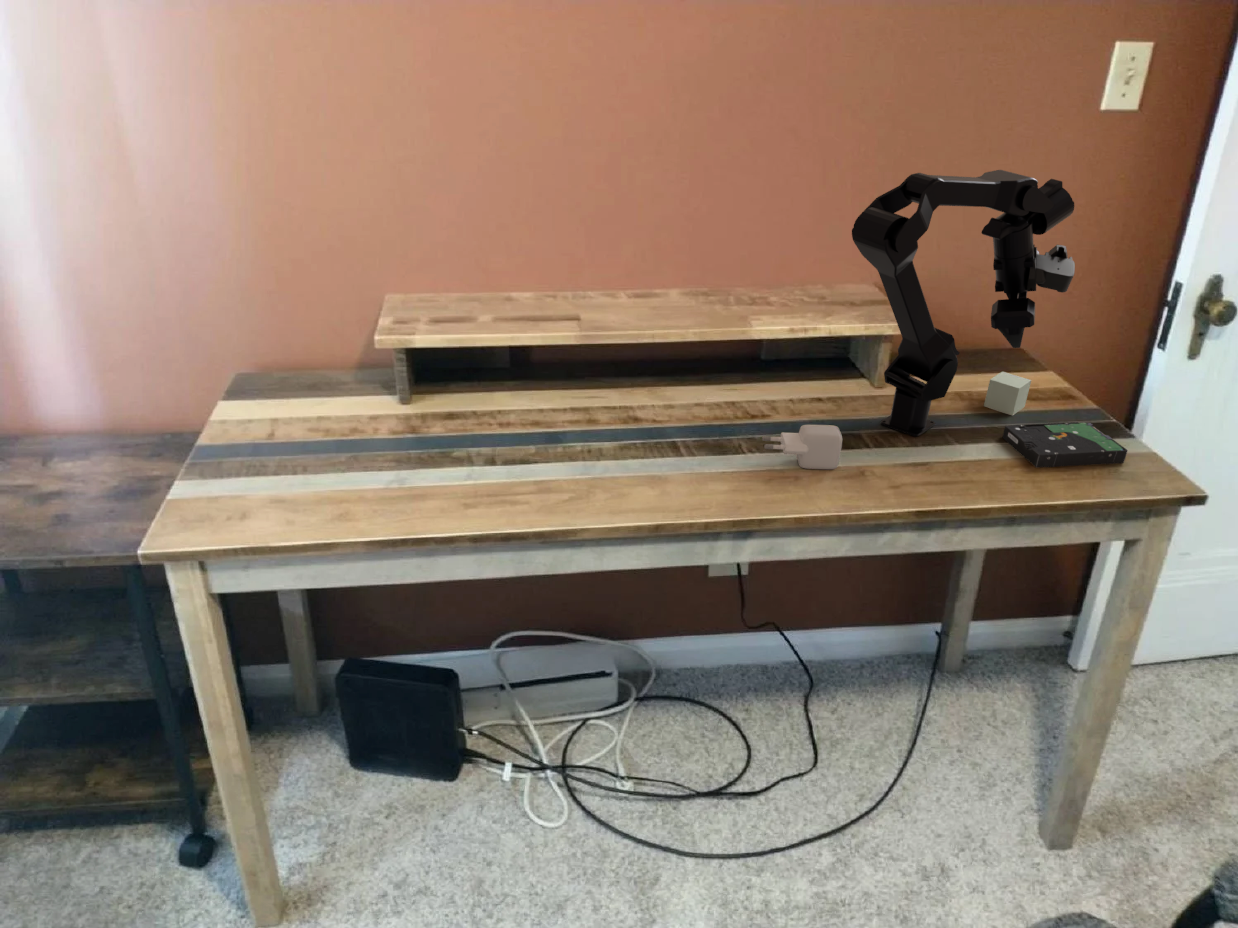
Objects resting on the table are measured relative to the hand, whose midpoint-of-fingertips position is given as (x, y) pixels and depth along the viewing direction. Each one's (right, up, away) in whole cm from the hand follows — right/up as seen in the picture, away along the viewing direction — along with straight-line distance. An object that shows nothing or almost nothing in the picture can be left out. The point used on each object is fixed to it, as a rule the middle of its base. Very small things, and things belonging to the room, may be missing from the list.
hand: (1018, 330), depth 160 cm
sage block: (-1, -12, +4) cm, 13 cm away
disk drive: (+3, -20, -10) cm, 23 cm away
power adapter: (-40, -22, -17) cm, 48 cm away
